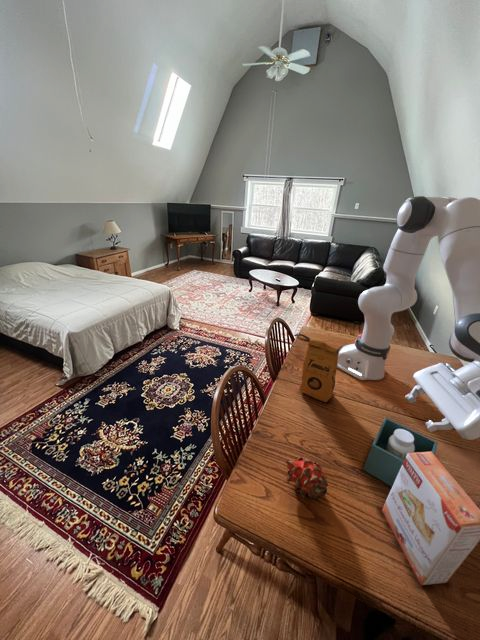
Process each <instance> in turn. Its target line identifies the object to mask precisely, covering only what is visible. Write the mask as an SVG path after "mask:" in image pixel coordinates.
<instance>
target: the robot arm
mask: <svg viewBox="0 0 480 640" xmlns="http://www.w3.org/2000/svg"><path fill="white" fill-rule="evenodd" d="M395 222H396V226H397V228H398V229H397V231H396V232H395V234H394V236H393V238H392V241H391V244H390V246H389V249H388V252H387V253H386V258H385V261H384V262H383V267H382V269H383V271H384V273H386V279H385V280H386V281H385V284H383V285H379V286H373V287H370V288H369V289H366V290H364V291H362V293H360V294H359V297H358V300H357V304H358V309H359V310H360V311H361V313H363V317H364V325H363V329H362V333H360V334H358V335H357V336H356V338H355V340H354V343H351V344H347V345H344V346H339V347H338V348H339V355H338V361H337V362H338V365H337V369H339V370H341V371H343V372H345V373H346V374H348V375H350V376H351V377H353V378H356V379H357V380H360V381H366V380H369V381H370V380H371V381H379V380H382V379H383V378H385V376H386V375H385V367H386V361H387V359H388V357H389V354H390V350H391V343H392V340H393V337H394V334H395V327H394V325H393V324H392V321H391V320H392V315H393V314H394V313H398V312H403V311H405V310H408V309H409V308H411V307H412V306H414V305H415V304H416V302H417V301H418V293H417V290H416V289H415V284H416V277H417V273H418V271H419V268H420V266H421V265H422V261H423V258H424V256H425V254H426V251H427V249H428V246H429V243H430V241H431V240H432V239H433V238H434V237H437V239H438V240H437V243H438V250H439V255H440V259H441V263H442V265H443V267H444V270H445V274H446V277H447V280H448V283H449V285H450V290H451V293H452V304H453V311H454V328H453V330H452V332H451V334H450V336H449V339H448V346H449V349H450V352H451V353H452V354H453V355H454V356H455V358H457V359H460V360H461V361H464V362H467V364H466V365H464V366H462V367H460V368H458V369H456V368H455V367H453V365H451V364H450V363H446V362H438V363H436V364H432V365H430V366H427V367H424V368H422V369H420V370H418V371H416V372H414V373H413V376H412V378H413V380H414V381H415V382H416V384H417V385H415V386H413V388H412V389H411V391H410V392H409V393H408V394H406V395H404V398H405V399H406V401H407V402H408V403H409V404H413V403H415V402H417V399H416V398H417V397H418V396H419V395H423V394H426V396H427V397H428V398H429V399H430V401H431V402H432V403H433V404H434V405H435V407H436V408H437V409H438V410H439V411H440V413H441V414H442V415H443V416H444V418H442V419H441V421H439V422H438V421H437V422H433V421H432V420H430V419H429V420H428V421H426V422H424V426H425V427H426V429H427V430H428V431H429V432H430V433H433V432H435V431H438V430H439V431H451V430H452V429H454V430H455V431H456V432H457V433H458V435H459V436H460V437H461V438H462V439H464V440H468V441H473V440H476V439H478V438H480V199H479V198H477V197H472V196H468V197H460V198H456V197H452V196H451V197H450V196H423V195H419V196H413V197H409V198H407V199H406V200H404V202H403V203H402V204H401V205H400V207H399V209H398V211H397V214H396V221H395ZM298 334H299V335H298ZM293 336H294V337H297V336H298V337H303V338H305V339H306V340H307V341H310V339H311V338H310V337H309V336H307V335H305V334H302V333H296V334H294V335H293Z"/></svg>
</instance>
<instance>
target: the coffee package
mask: <svg viewBox="0 0 480 640" xmlns="http://www.w3.org/2000/svg"><path fill="white" fill-rule="evenodd" d="M308 341H309V342H308V346H307V350H306V352H305V353H306V354H305V357H304V360H303V367H302V374H301V381H300V385H299V388H298V391H299V392H300V393H303V394H305V395H307V396H309V397H311V398H314V399H316V400H318V401H320V402H324V403H328V401H330V399H331V398H332V397H333V394H334V390H335V387H336V373H337V369H338V368H337V365H338V362H337V361H338V355H339V347H336V346H334V345H332V344H329V343H327V342H324V341H319V340H315V339H312V338H310V340H308Z"/></svg>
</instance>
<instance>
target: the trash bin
mask: <svg viewBox="0 0 480 640" xmlns="http://www.w3.org/2000/svg"><path fill="white" fill-rule="evenodd" d="M396 429H403V430H406V431H408V432H410V433H411V434H412V435H413V436H414V443H413V444H414V447H415V450H414V453H417V452H432V453H433V454H434V455H435V456H436V452H437V448H438V443H439V442H438V441H436V440H434V439H432V438H429V437H428V436H425V435H423V434H421V433H419V432H417V431H415V430H413V429H411V428H409V427H407V426H404V425H402V424H401V423H398V422H396V421H394V420H392V419H390V418H388V417H384V419H383V421H382V424H381V426H380V428H379V429H378V432H377V434H376V436H375V438H374V439H373V443H372V444H371V447H370V450H369V452H368V456H367V458H366V461H365V463H364V467H363V468H362V469H363V471H365V472H367V473H368V474H369V475H372V476H373V477H375V479H377V480H379V481H381V482H383V483H385V484H386V485H388V486H389V487H391V488H392V486H393V484H394V482H395V480H396V477H397V475H398V473H399V471H400V469H401V466H402V464H403V462H404V460H402V459H400V458H398V457H397V456H395V455H393V454H391V453H389V452H387V451H386V448H387V444H388V440H389V438H390V436H392V435H393V434H394V431H395V430H396Z"/></svg>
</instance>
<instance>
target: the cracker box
mask: <svg viewBox="0 0 480 640" xmlns="http://www.w3.org/2000/svg"><path fill="white" fill-rule="evenodd" d="M381 512H382V514H383V515H384V518H385V519H386V521H387V523H388V525H389V527H390V529H391V532H392V533H393V534H394V536H395V539H396V540H397V542H398V544H399V547H400V548H401V550H402V553H403V554H404V557H405V558H406V560H407V562H408V563H409V566H410V567H411V569H412V571H413V573H414V575H415V577H416V579H417V581H418V583H419V585H420V586H427V585H428V586H429V585H437V584H438V585H439V584H447V583H448V581H450V579H451V578H452V576H453V575H454V574H455V573H456V572H457V571H458V569H459V568H460V566H462V564H463V563H464V561H465V560H466V559H467V558H468V556H469V555H470V554H471V552H472V551H473V550H474V548H475V547H476V546H477V545H478V543H479V542H480V508H479V507H478V506H477V505H476V503H475V502H474V501H473V500H472V499H471V497H470V496H469V495H468V494H467V493H466V491H465V490H464V489H463V488H462V486H461V485H460V484H459V483H458V481H457V480H455V478H454V477H453V476H452V475H451V474H450V472H449V471H448V470H447V468H446V467H445V466H444V465H443V464H442V462H440V460H439V459H438V458H437V456H436V454H435V455H434V454H433V453H432V452H417V453H407V455H406V457H405V460H404V462H403V464H402V466H401V469H400V471H399V473H398V475H397V477H396V480H395V482H394V484H393V486H392V487H391V489H390V491H389V492H388V495H387V497H386V500H385V502H384V504H383V507H382V509H381Z"/></svg>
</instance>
